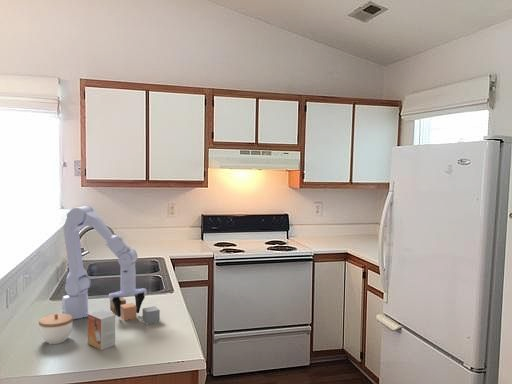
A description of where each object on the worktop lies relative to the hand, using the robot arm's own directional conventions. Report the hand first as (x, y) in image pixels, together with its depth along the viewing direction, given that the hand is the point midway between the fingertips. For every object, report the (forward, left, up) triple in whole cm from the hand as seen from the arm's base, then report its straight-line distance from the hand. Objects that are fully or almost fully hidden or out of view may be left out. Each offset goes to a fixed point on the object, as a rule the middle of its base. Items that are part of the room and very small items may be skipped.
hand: (128, 314), depth 173 cm
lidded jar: (-28, -9, -2) cm, 29 cm away
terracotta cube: (0, 0, -2) cm, 2 cm away
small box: (-16, -21, -2) cm, 26 cm away
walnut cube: (-1, +10, -2) cm, 10 cm away
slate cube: (+6, -9, -2) cm, 11 cm away
